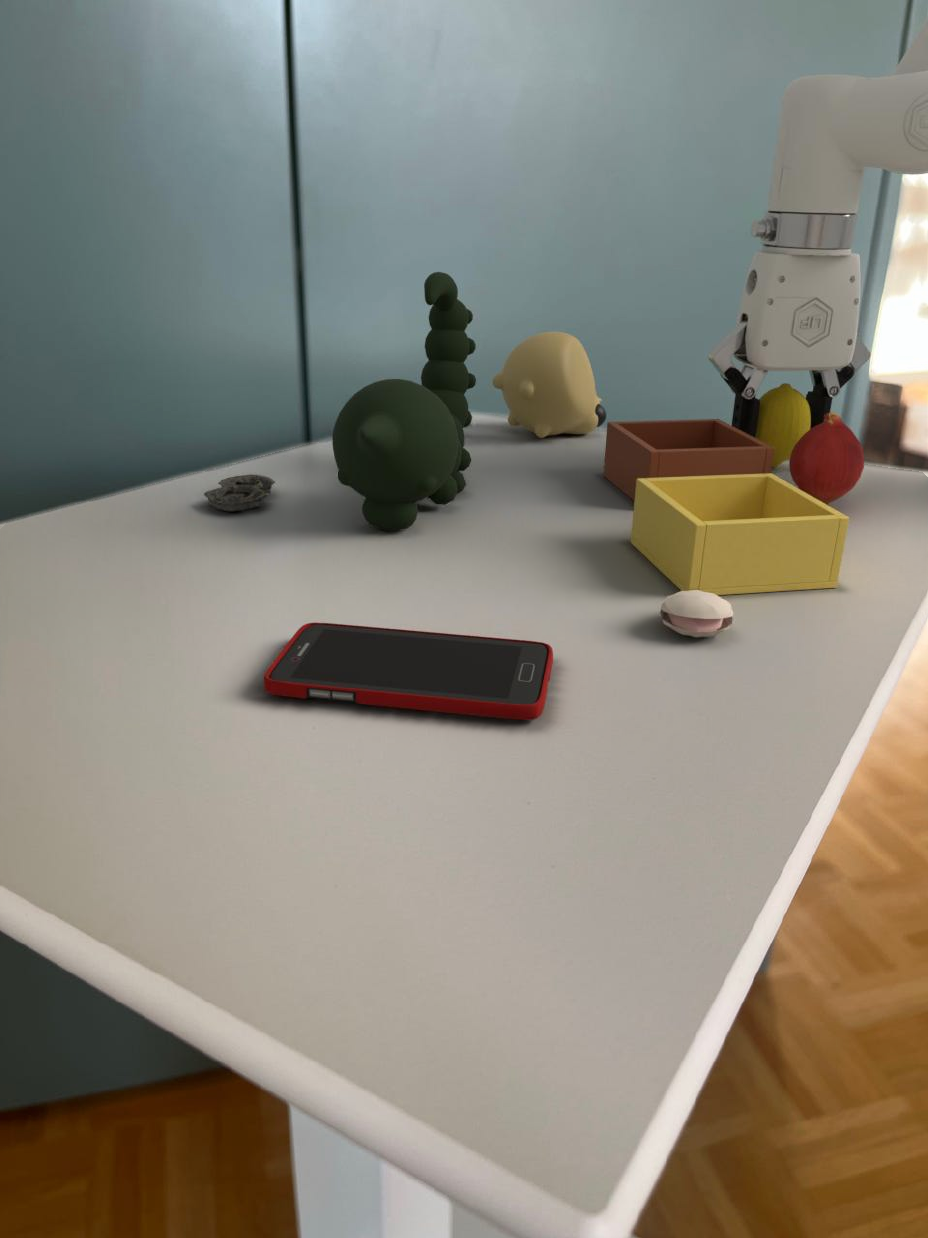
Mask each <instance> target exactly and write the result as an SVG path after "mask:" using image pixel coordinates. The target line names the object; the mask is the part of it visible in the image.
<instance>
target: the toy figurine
mask: <svg viewBox="0 0 928 1238" xmlns="http://www.w3.org/2000/svg"><path fill="white" fill-rule="evenodd" d="M423 289H424V301H425V303H426V305H428V306H431V308H430V310H429V314H428V324H429V326H430V331H428V333H427V335H426V337H425V340H424V350H425V356H426V358H427V359H428V361H427V362H426V363H425V364H424V365H423V368H422V369H421V375H420V383H421V384H419V383H417V382H415V381H412V380H407V379H402V378H387V379H386V378H385V379H382V380H378V381H374V382H372V383H370V384H367V385H366V386H364V387H362V388H360V389H359V390H358V391H357V392H355V393H354V394H353V395H352V396H351V397H350V398H349V399H348V400H347V402H346V403H345V404H344V406H343V407H342V408H341V410H340V411H339V414H338V416H337V418H336V420H335V423H334V426H333V430H332V435H331V439H332V440H331V442H332V443H331V445H332V451H333V457H334V461H335V464H336V468H337V474H336V476H337V477H336V478H337V480H338V481H339V483H340V484H341V485H343V486H346V487H350V488H351V489H352V490H353V491H354V492H356V493H357V494H358V495H360V496H362V497H364V500H363V502H362V505H361V514H362V516H363V518H364V521H365V522H366V523H367V524H368V525H369V526H371V527H374V528H377V529H379V530H384V531H394V532H395V531H396V532H397V531H398V532H399V531H404V530H407V529H408V528H410V527H412V526H413V525H414V524H415V522H416V521H417V517H418V513H419V511H418V505H417V503H418V502H421V501H423V500H425V499H429V500H430V501H431V502H432V503H433V504H435V505H440V506H447V505H448V504H450V503H451V502H454V500H455V498H456V496H457V494H460V493H462V492H464V490H465V488H466V486H467V482H466V479H465V475H464V473H463V472H465V471H466V470H467V469H468V468H469V467H470V466H471V463H472V456H471V453H470V452H469V451H468V450H467V449H466V448H464V447H465V443H466V442H465V441H466V435H465V434H466V433H465V429H464V428H468V427H469V426H470V425H471V424H472V421H473V415H472V413H471V412H470V410H469V403H468V400H467V398H466V396H465V394H466V393H467V390H469V389H473V388H474V387H476V383H477V378H476V376H475V374H473V373H471V372H469V370H468V368H467V365H466V364H465V362H466V361H467V359H468V356H470V355H472V354H474V352H475V351H476V348H477V347H476V342H475V340H474V339H472V338H471V337H469V336H468V334H467V332H466V329H467V328H468V325H470V324H471V323H472V321H473V319H474V313H472V311H471V310H470V309H468V308H467V306H466V305H465V304H464V303H463V301H461V300H460V299H458V295H459V289H458V286H457V283H456V282H455V280H454V279H453V277H452V276H451V275H449V273H446V272H442V271H435V272H432V273H430V274H429V275H428V276H427V277H426V278H425V281H424V284H423Z"/></svg>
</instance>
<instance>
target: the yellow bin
mask: <svg viewBox="0 0 928 1238" xmlns="http://www.w3.org/2000/svg"><path fill="white" fill-rule="evenodd" d="M633 502H634V501H633ZM633 505H634V506H633V513H632V515H633V516H632V522H631V523H632V525H631V535H630V536H631V537H630V544H631V545H632V546H634V547H635V548H636V549H637V550H638V551H639V552H640V553H641V554H642V555H643V556H644V557H645V558H647V560H648V561H649V562H650V563H651V564H652V565H654V566H655V567H656V568H657V569H658V570H659V571H660V572H661V573H662V574H663V575H664V576H665V577H666V578H667V579H668V580H669V581H670V582H672V584H674V585H675V587H676V588H678V589H679V590H680V591H692V590H699V591H703V592H708V593H713V594H716V595H717V596H724V595H725V596H726V595H739V594H740V595H742V594H743V595H744V594H757V593H758V594H759V593H773V592H774V593H775V592H789V591H805V590H823V589H835V588H838V583H839V577H840V570H841V566H842V560H843V554H844V550H845V544H846V538H847V532H848V528H849V522H850V517H849V516H848V515H845V514H844V513H842V512H840V511H838V510H837V509H835V508H833V507H832V506H830V505H828V504H827V505H826V504H824V503H823V502H821V501H819V500H817V499H816V498H814V497H812V496H810V495H809V494H807V493H805V492H803V491H802V490H800V489H799V488H798V487H796V486H795V485H793V484H791V483H789V482H788V481H786V480H784V479H783V478H780V477H779V476H777V475H776V474H773V473H772V472H771V473H768V474H740V475H714V476H688V477H662V478H646V479H645V478H639V479H637V480H636V491H635V502H634V503H633Z"/></svg>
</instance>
